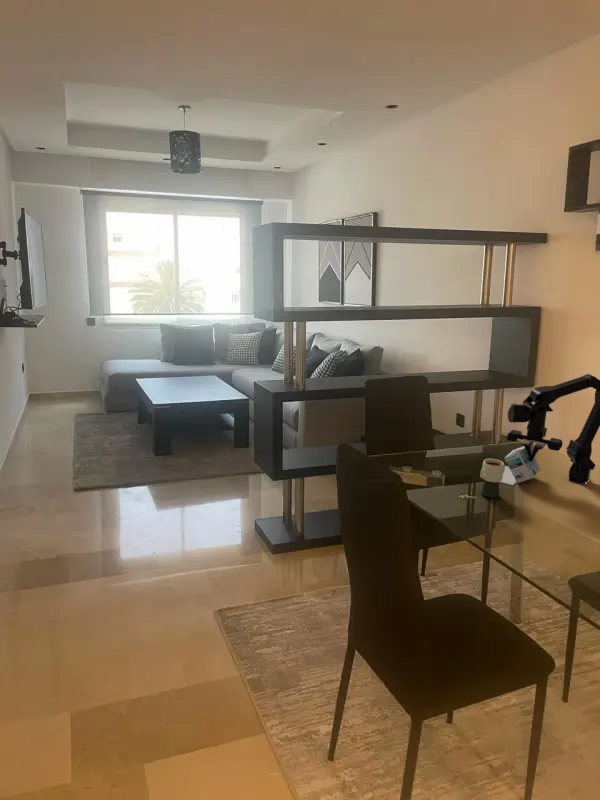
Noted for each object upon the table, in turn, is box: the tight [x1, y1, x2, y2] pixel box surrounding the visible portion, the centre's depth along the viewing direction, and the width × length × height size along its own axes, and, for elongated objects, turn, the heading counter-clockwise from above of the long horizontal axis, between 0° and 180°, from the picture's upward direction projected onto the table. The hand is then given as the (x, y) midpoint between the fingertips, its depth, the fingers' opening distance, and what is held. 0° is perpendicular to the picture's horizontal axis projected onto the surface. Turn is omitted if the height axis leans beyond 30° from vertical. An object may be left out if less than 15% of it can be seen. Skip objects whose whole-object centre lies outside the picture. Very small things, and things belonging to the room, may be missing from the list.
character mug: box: [479, 458, 506, 499], centre depth 213 cm, size 11×7×13 cm, turn 116°
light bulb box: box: [504, 446, 541, 484], centre depth 227 cm, size 11×7×11 cm
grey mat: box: [499, 465, 517, 487], centre depth 233 cm, size 12×16×1 cm
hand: (531, 461), depth 225 cm, fingers closed
